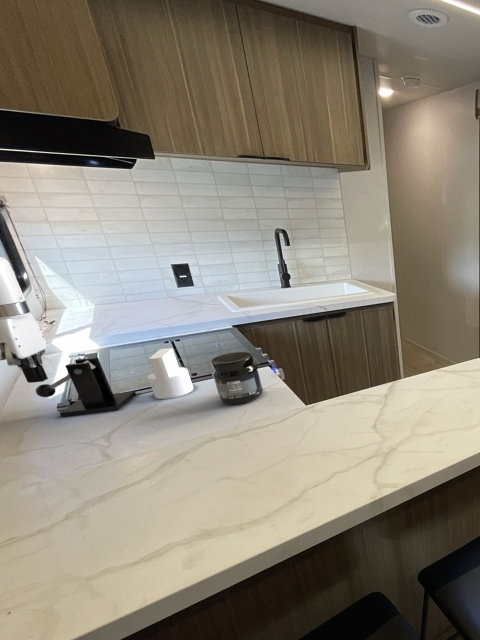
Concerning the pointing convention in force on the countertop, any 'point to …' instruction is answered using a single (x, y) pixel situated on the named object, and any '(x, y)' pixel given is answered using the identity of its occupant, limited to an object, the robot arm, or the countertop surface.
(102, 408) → the bracket
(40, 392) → the tap lever
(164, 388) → the base with upright slab
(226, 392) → the supplement container
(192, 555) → the countertop surface
